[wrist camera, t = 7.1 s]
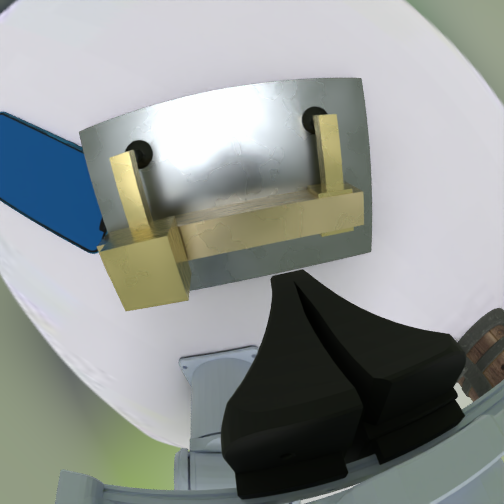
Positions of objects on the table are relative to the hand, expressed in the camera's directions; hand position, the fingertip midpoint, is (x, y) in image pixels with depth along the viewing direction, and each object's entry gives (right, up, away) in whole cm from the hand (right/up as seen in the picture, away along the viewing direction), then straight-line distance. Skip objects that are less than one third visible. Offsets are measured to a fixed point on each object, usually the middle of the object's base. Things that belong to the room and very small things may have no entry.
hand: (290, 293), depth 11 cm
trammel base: (-3, +6, +8) cm, 11 cm away
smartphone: (-18, +8, +6) cm, 21 cm away
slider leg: (-8, +5, +7) cm, 12 cm away
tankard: (+35, -14, +24) cm, 44 cm away
